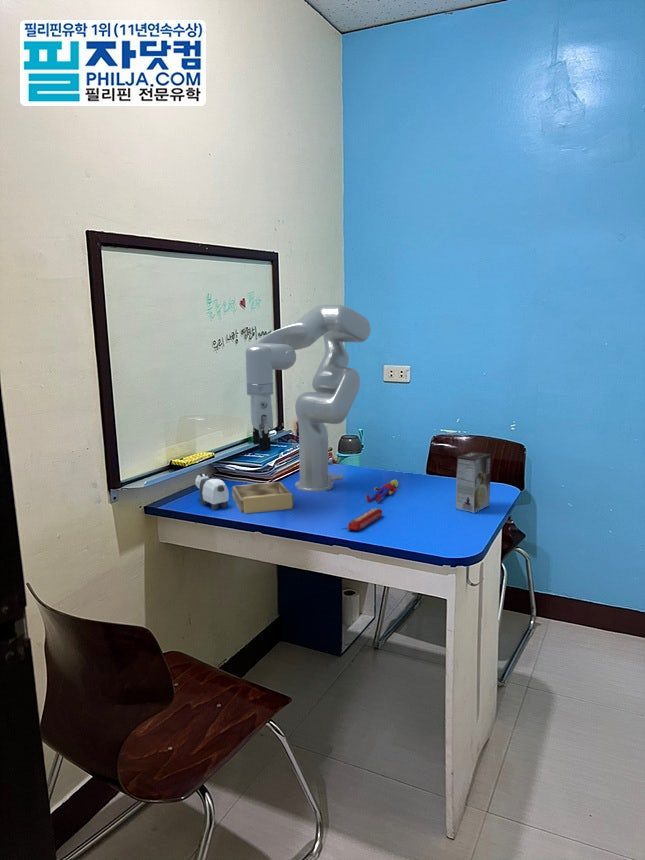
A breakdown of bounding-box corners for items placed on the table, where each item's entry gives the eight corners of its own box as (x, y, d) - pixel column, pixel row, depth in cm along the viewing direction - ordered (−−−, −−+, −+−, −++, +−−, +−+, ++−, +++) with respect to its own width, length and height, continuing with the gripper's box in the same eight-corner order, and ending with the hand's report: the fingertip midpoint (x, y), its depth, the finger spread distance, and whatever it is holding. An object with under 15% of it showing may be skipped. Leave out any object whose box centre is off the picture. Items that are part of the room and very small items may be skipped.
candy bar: (372, 515, 181) (372, 505, 181) (384, 517, 179) (384, 507, 179) (345, 532, 168) (345, 521, 167) (357, 534, 166) (357, 523, 166)
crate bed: (280, 493, 202) (280, 481, 201) (293, 508, 187) (293, 495, 186) (232, 498, 197) (231, 486, 196) (241, 513, 182) (240, 500, 182)
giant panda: (231, 509, 187) (229, 478, 185) (214, 513, 183) (213, 481, 181) (206, 498, 198) (204, 468, 196) (190, 501, 194) (188, 471, 192)
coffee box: (470, 502, 191) (472, 450, 188) (489, 506, 187) (492, 454, 184) (454, 509, 185) (456, 456, 182) (474, 514, 180) (476, 459, 177)
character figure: (366, 487, 191) (390, 471, 209) (362, 500, 193) (386, 483, 210) (382, 495, 189) (405, 478, 207) (378, 508, 191) (401, 490, 208)
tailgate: (291, 507, 186) (290, 492, 185) (292, 508, 185) (291, 493, 184) (244, 512, 182) (243, 497, 181) (244, 513, 181) (244, 498, 180)
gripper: (279, 392, 174) (280, 453, 177) (266, 385, 190) (268, 440, 193) (252, 393, 172) (254, 455, 175) (242, 386, 188) (244, 442, 191)
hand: (261, 447), depth 184 cm, fingers open, 9 cm apart
